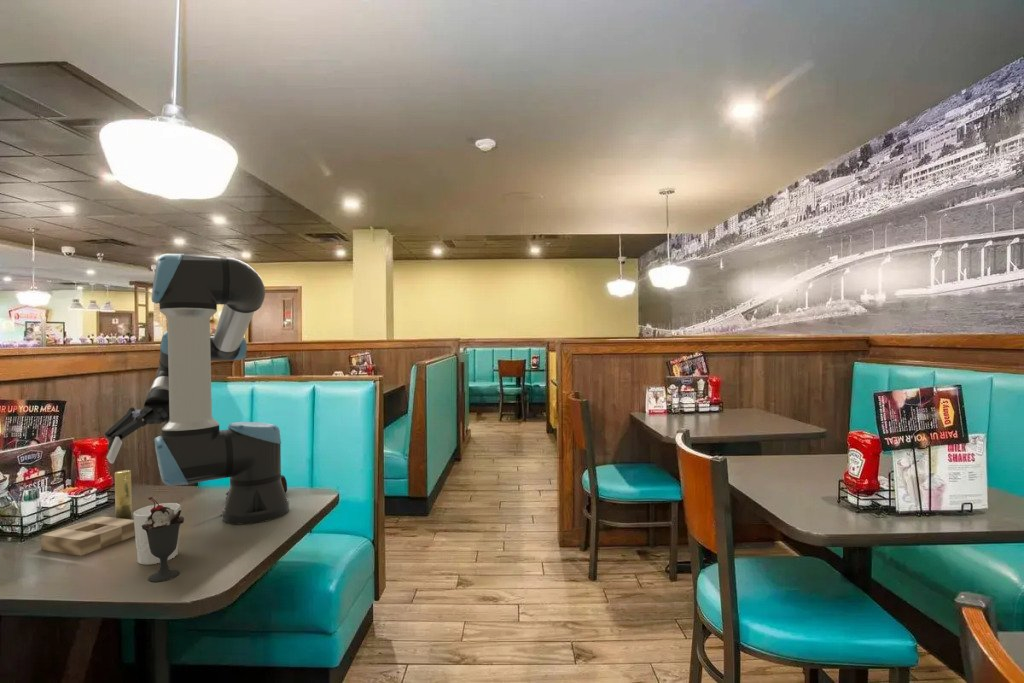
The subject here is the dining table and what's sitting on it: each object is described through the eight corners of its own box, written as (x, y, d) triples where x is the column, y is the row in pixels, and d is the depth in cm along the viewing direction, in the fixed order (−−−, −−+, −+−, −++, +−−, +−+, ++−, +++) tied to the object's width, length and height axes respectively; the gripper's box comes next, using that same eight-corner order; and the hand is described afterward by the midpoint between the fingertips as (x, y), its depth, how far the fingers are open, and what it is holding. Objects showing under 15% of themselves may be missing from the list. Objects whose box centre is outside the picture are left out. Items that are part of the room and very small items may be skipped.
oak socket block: (138, 536, 117) (138, 520, 117) (81, 557, 106) (80, 540, 106) (101, 531, 121) (100, 516, 121) (41, 551, 110) (40, 534, 110)
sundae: (136, 578, 96) (134, 497, 96) (176, 565, 101) (175, 488, 101) (149, 588, 92) (147, 503, 92) (190, 574, 97) (189, 494, 97)
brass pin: (135, 518, 128) (134, 470, 128) (121, 523, 125) (120, 473, 125) (125, 517, 129) (124, 469, 129) (112, 522, 126) (111, 472, 126)
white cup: (181, 560, 104) (180, 510, 104) (132, 570, 100) (131, 518, 100) (181, 547, 110) (180, 500, 110) (135, 556, 106) (135, 507, 106)
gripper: (214, 402, 156) (196, 463, 141) (119, 405, 150) (90, 469, 136) (207, 386, 151) (188, 447, 136) (109, 389, 145) (78, 453, 131)
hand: (139, 459), depth 136 cm, fingers open, 13 cm apart
